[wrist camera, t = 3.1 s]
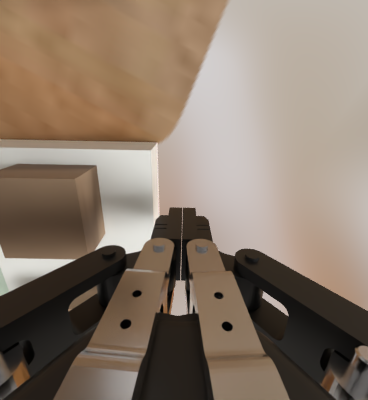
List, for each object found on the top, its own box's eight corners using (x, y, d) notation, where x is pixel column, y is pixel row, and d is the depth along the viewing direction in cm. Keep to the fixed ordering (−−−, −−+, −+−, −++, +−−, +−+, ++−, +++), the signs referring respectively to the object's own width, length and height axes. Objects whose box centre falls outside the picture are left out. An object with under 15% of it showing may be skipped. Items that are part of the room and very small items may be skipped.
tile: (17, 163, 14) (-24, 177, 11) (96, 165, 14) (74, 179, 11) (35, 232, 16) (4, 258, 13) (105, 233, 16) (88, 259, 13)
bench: (-1, 139, 17) (-44, 146, 14) (157, 142, 17) (150, 150, 14) (45, 298, 23) (22, 329, 20) (161, 300, 23) (157, 331, 20)
